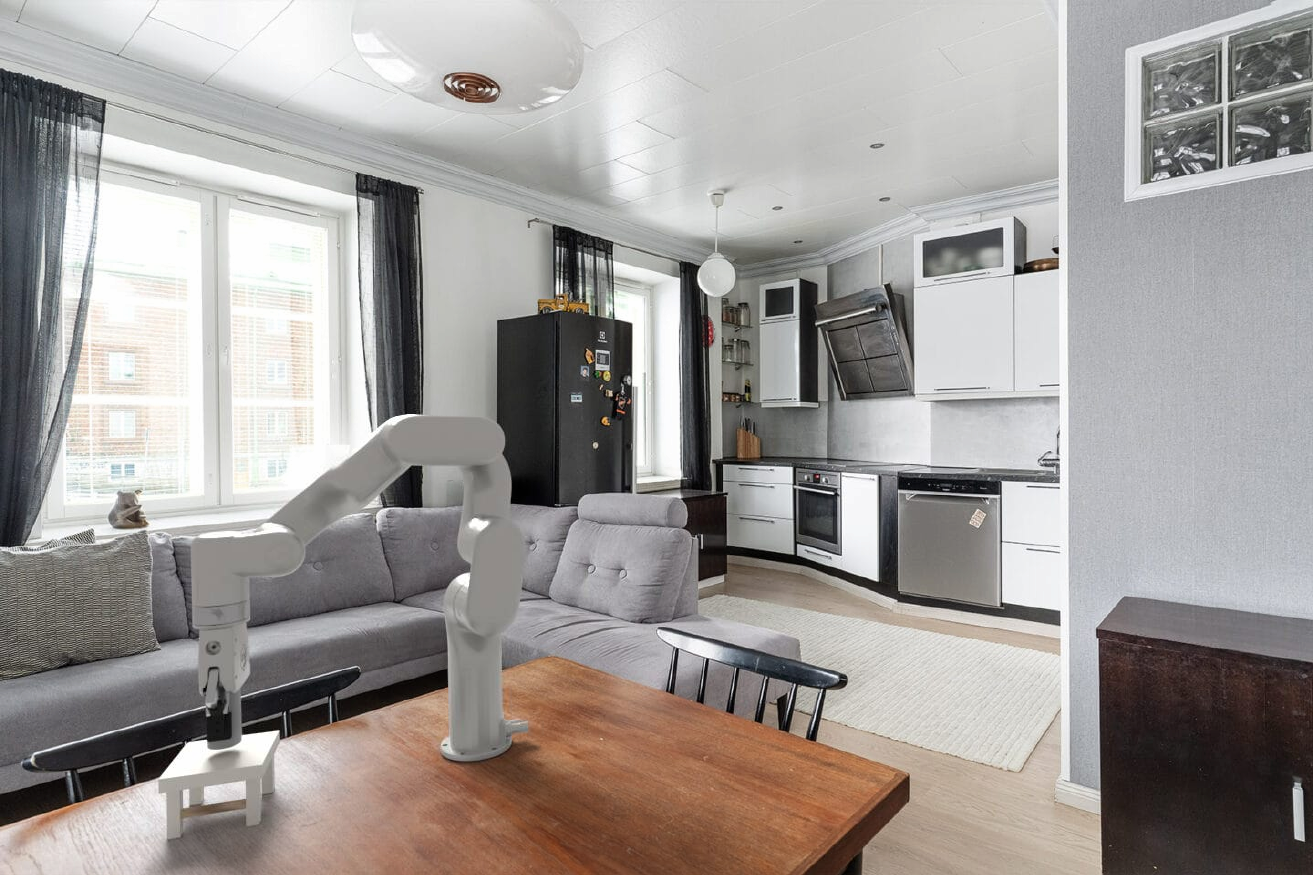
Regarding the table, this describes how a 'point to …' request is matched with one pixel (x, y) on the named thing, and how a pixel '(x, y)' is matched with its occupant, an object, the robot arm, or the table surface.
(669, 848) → the table surface
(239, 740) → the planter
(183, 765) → the stool
